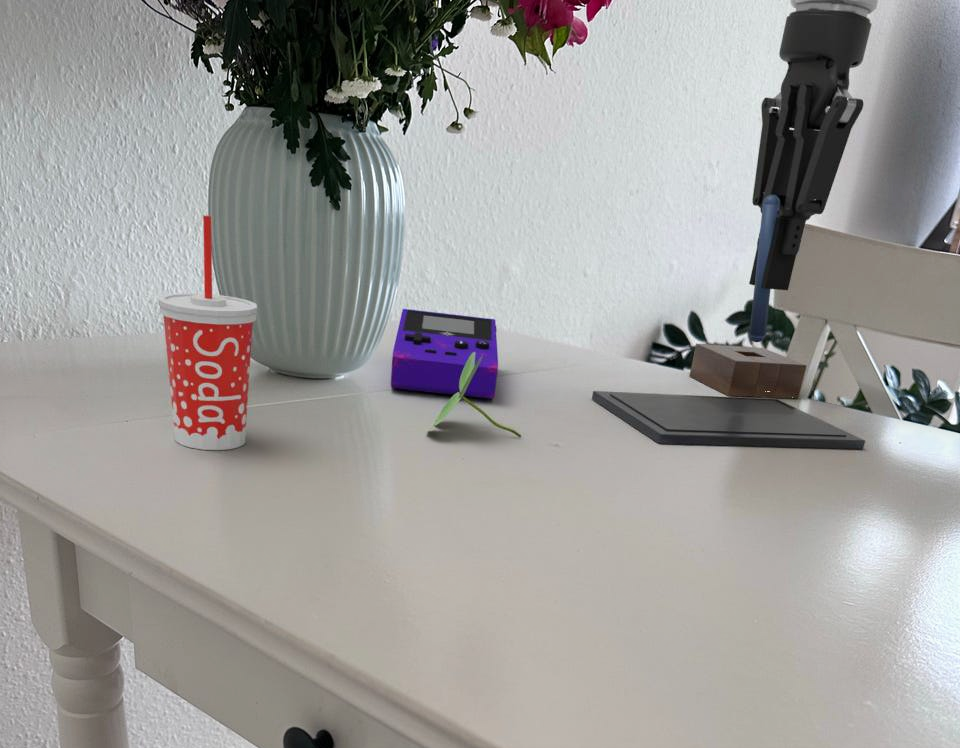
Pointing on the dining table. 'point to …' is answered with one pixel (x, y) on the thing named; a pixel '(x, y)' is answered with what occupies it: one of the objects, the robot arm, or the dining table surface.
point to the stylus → (763, 269)
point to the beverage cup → (208, 362)
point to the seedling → (463, 385)
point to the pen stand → (747, 371)
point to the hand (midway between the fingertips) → (768, 286)
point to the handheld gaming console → (444, 353)
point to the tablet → (724, 421)
